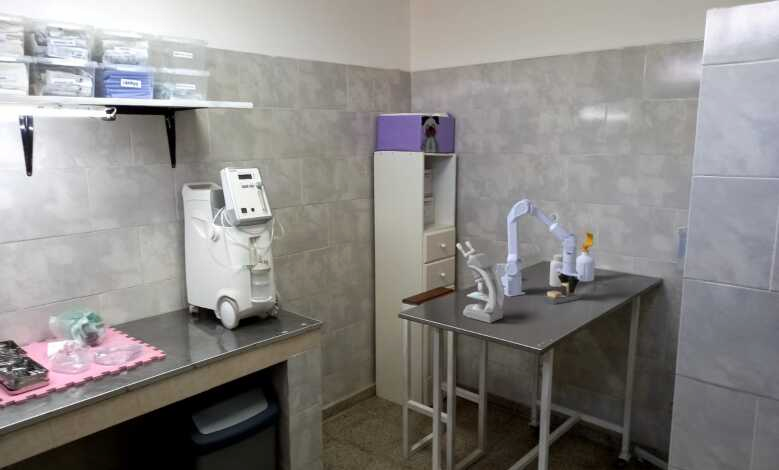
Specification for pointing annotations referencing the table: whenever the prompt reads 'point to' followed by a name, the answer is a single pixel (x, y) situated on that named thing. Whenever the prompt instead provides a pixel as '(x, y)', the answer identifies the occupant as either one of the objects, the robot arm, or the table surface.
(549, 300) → the grey rectangular tray
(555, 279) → the pill bottle
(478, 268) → the microscope
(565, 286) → the tan wooden block
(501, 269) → the medicine box
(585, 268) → the soap bottle
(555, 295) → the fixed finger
